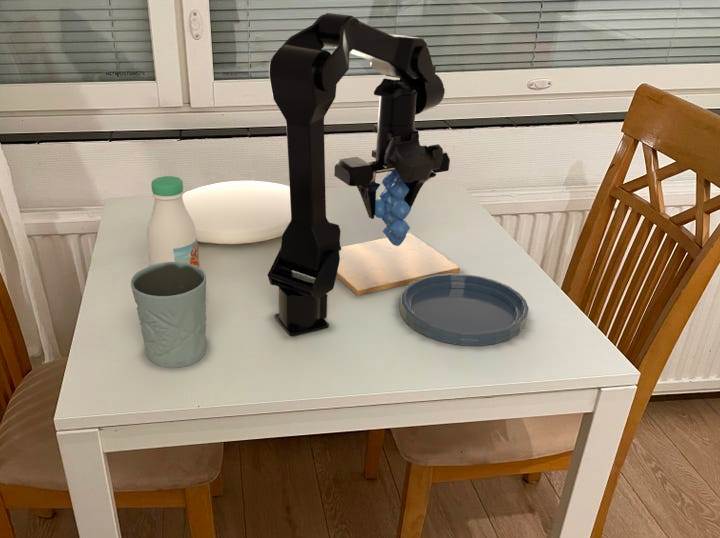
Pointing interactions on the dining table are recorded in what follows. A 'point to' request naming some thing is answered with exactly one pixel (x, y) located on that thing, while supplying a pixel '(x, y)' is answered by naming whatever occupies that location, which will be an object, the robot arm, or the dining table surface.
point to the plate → (239, 211)
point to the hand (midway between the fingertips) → (388, 214)
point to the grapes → (393, 208)
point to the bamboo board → (389, 264)
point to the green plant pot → (172, 312)
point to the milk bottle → (171, 225)
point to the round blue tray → (463, 309)
